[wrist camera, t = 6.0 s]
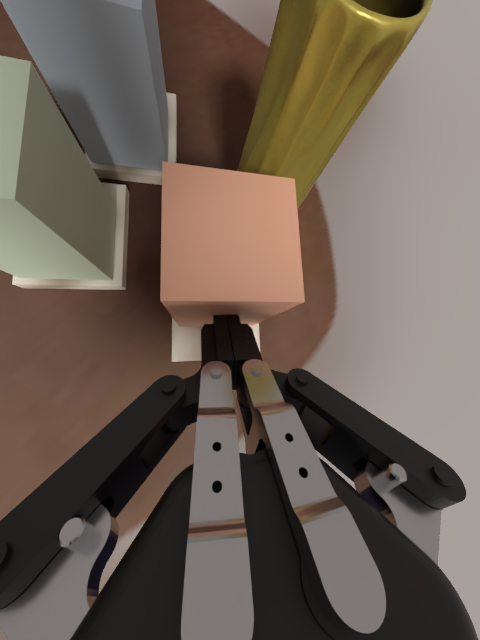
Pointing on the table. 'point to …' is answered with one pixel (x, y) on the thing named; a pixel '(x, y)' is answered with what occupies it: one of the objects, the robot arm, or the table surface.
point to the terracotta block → (228, 245)
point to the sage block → (47, 188)
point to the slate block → (102, 73)
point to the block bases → (183, 338)
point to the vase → (322, 80)
